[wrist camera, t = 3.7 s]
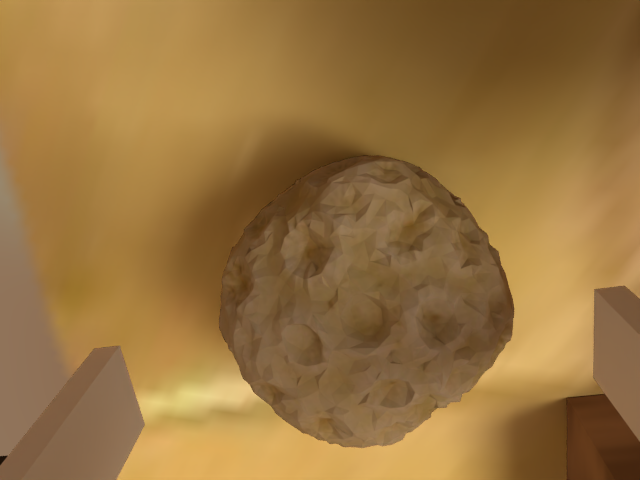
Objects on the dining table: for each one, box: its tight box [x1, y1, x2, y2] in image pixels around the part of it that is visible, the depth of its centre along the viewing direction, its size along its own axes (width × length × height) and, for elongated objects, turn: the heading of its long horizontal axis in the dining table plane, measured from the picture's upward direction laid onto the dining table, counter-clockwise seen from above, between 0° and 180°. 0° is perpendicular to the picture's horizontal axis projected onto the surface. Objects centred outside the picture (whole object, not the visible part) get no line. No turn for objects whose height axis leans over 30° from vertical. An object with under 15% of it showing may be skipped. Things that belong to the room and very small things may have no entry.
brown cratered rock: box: [219, 155, 514, 448], centre depth 19 cm, size 9×9×8 cm
